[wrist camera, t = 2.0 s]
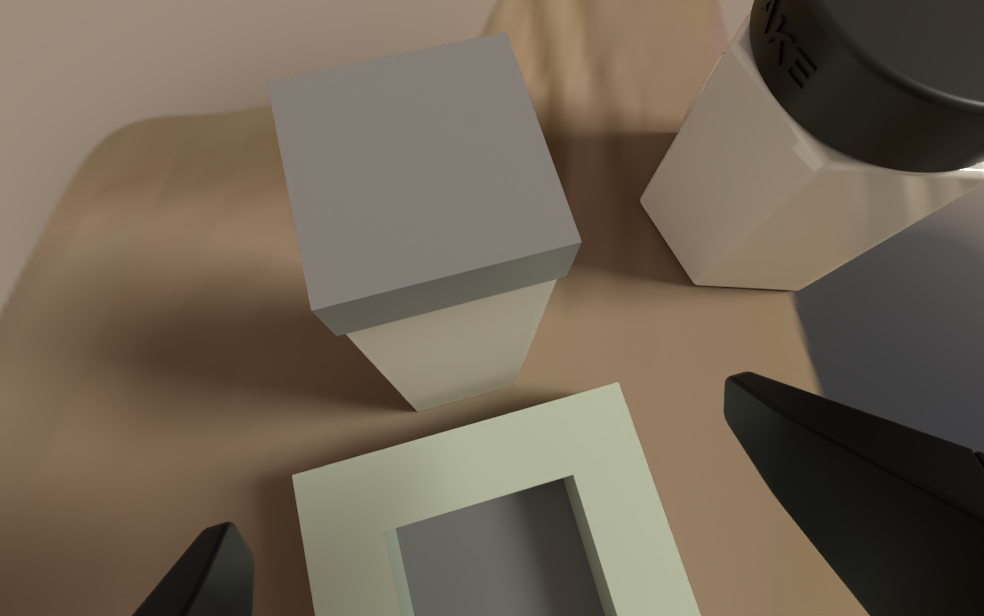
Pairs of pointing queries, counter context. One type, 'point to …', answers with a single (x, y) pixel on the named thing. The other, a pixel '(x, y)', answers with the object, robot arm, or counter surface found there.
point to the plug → (426, 212)
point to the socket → (497, 521)
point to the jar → (822, 138)
